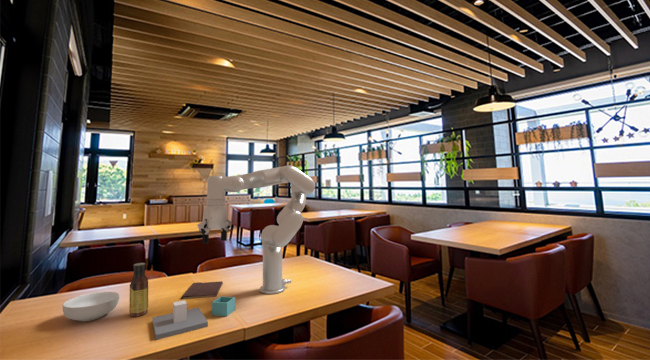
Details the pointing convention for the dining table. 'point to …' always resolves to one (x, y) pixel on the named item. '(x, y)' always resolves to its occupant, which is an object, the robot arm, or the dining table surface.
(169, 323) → the post base
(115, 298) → the cereal bowl
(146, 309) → the sauce bottle
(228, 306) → the teal upright block
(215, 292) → the notebook
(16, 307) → the dining table surface
